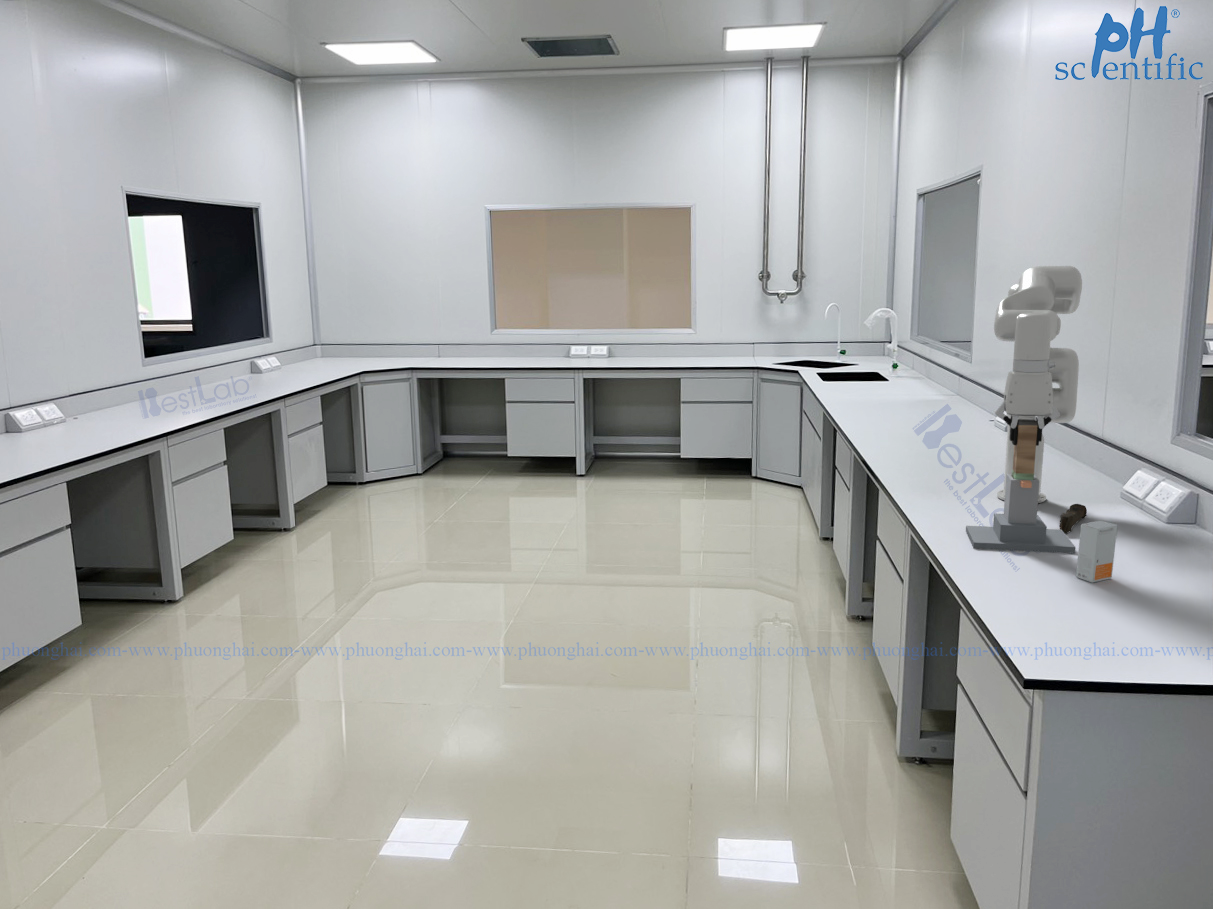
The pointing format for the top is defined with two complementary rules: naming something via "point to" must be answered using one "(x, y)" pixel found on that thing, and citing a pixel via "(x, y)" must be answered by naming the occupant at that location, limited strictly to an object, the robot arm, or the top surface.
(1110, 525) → the skincare box
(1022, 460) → the post
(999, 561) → the top surface
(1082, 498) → the top surface
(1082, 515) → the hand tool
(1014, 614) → the top surface
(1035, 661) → the top surface
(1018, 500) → the stand base
